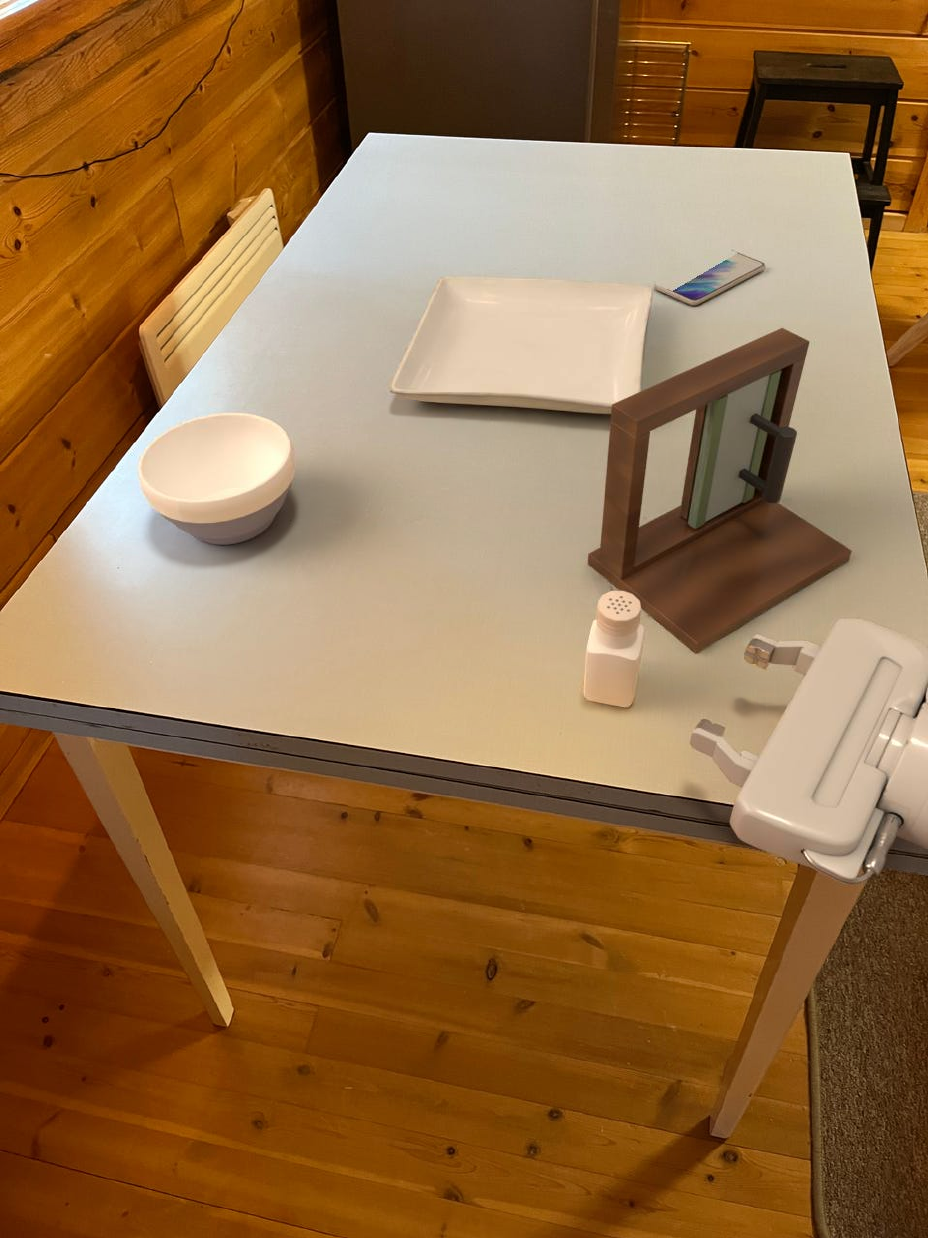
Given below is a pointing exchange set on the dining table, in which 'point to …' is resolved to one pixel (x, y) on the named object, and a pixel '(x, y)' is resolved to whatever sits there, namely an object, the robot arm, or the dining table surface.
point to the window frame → (728, 543)
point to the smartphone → (716, 279)
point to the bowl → (219, 475)
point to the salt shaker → (614, 650)
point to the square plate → (527, 344)
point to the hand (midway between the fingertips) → (722, 687)
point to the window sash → (740, 451)
